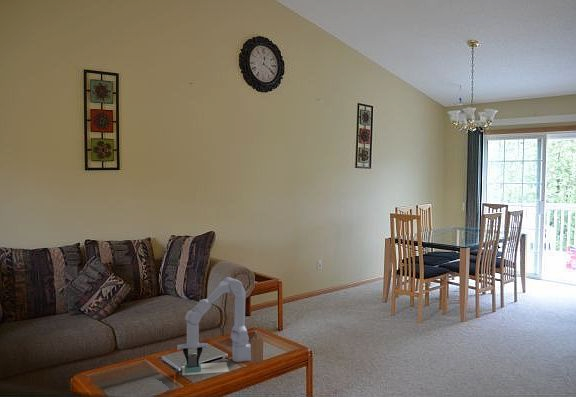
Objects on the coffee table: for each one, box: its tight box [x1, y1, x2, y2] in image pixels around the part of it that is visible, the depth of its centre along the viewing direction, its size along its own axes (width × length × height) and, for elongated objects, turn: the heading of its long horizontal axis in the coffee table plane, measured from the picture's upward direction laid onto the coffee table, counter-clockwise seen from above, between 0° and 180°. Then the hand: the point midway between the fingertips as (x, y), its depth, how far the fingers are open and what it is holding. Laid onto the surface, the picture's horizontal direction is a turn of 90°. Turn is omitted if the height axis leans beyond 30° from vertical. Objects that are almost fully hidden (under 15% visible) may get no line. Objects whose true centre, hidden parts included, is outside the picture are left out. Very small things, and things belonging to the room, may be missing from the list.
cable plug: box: [188, 352, 197, 368], centre depth 228 cm, size 4×4×6 cm
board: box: [181, 361, 230, 376], centre depth 230 cm, size 22×13×3 cm, turn 103°
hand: (192, 363), depth 229 cm, fingers closed on cable plug, 4 cm apart
